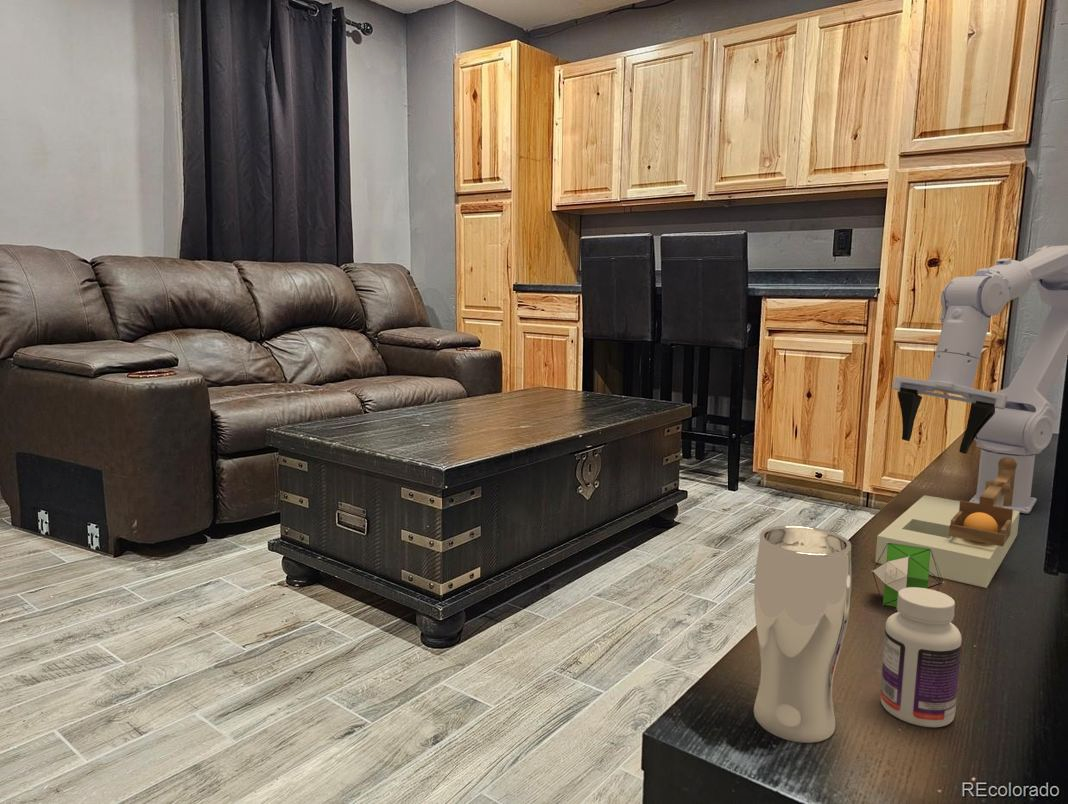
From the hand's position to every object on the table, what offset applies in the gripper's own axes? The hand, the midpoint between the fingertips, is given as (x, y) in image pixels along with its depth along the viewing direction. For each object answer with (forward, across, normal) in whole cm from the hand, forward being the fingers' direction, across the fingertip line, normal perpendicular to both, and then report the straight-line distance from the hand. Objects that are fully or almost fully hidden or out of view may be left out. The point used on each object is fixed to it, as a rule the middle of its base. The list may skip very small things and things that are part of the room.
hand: (933, 446), depth 105 cm
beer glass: (+26, +6, -59) cm, 65 cm away
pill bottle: (+23, +13, -51) cm, 58 cm away
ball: (+9, +10, -16) cm, 21 cm away
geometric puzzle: (+19, +7, -31) cm, 37 cm away
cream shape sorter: (+13, +6, -8) cm, 17 cm away
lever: (+8, +10, -7) cm, 15 cm away
